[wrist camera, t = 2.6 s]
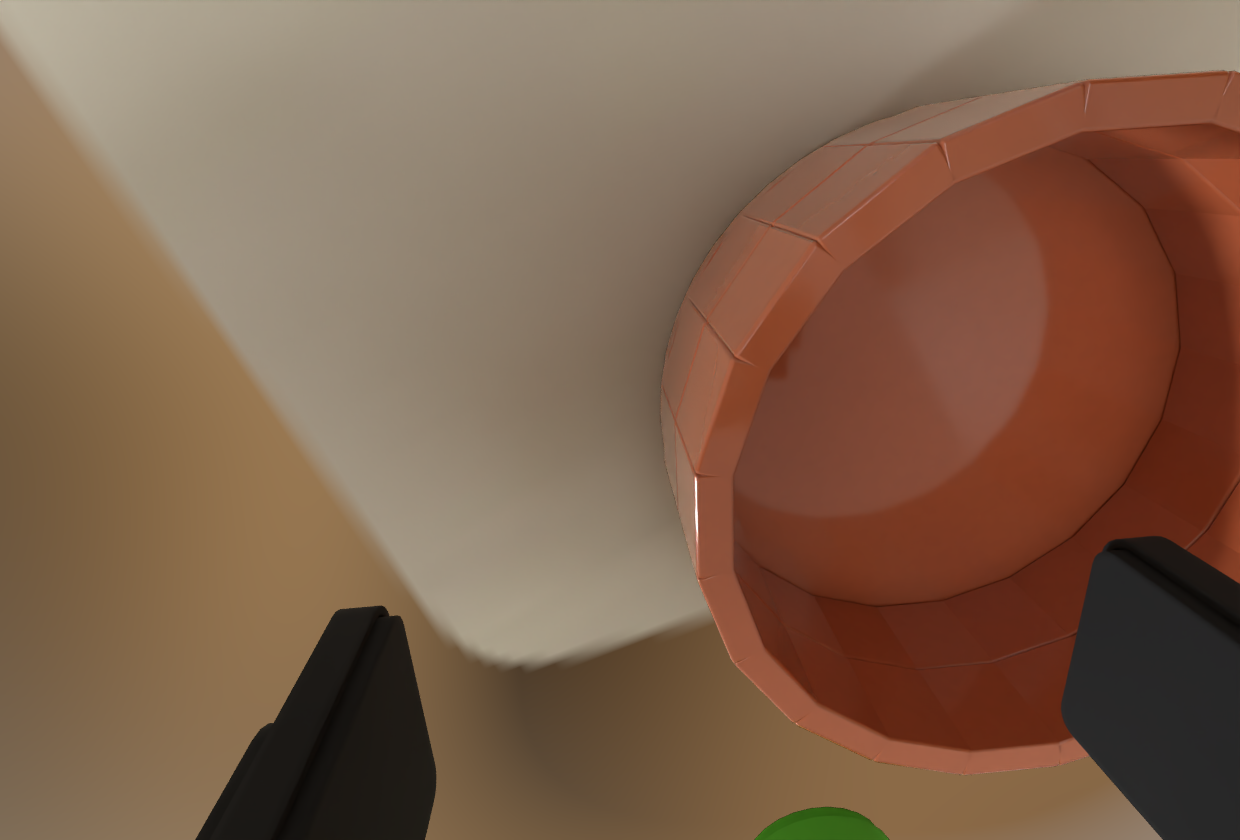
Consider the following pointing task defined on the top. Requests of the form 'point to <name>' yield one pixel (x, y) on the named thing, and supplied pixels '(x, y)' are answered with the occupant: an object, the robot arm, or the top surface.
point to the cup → (822, 826)
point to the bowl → (961, 404)
